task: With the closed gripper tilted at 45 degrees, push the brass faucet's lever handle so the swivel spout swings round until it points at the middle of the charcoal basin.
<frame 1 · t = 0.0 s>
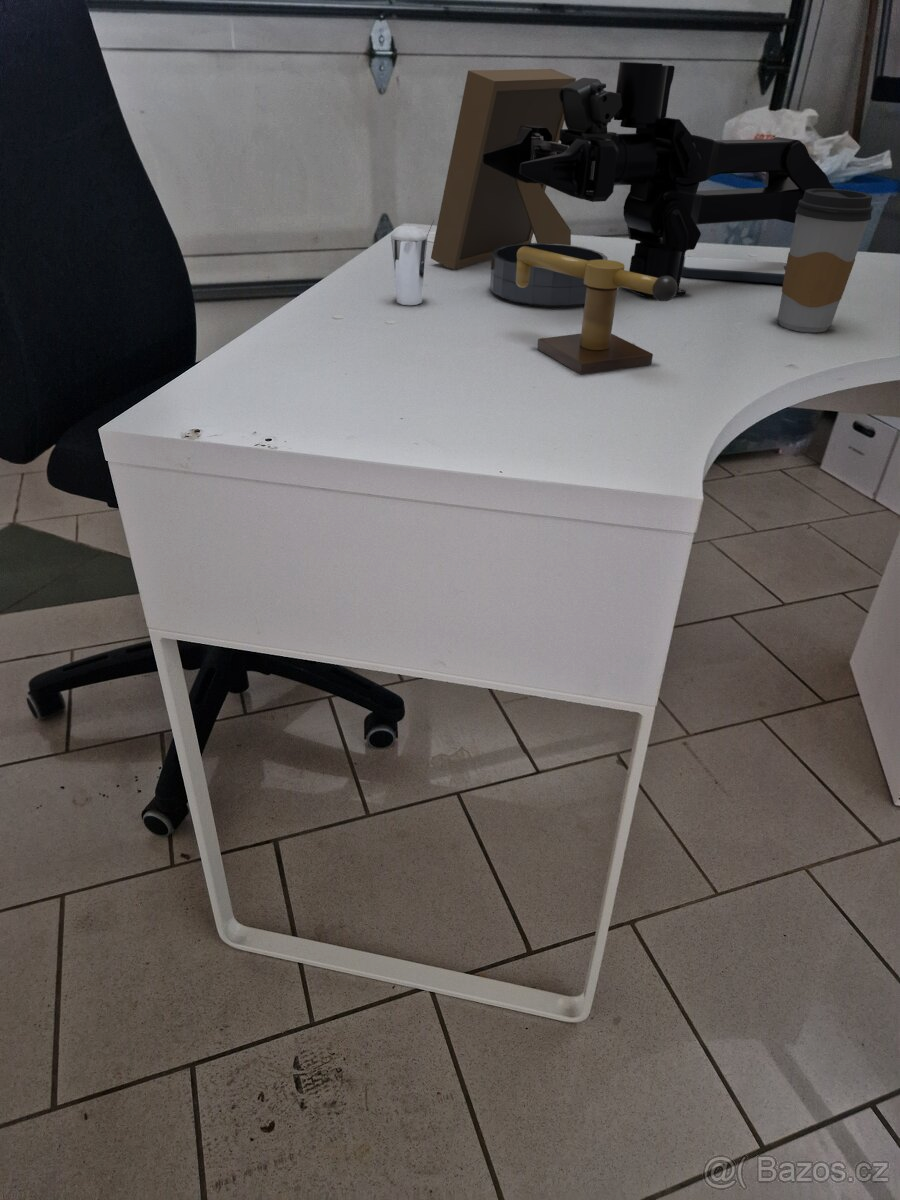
hand: (500, 163, 97), 17 cm above the table, tool horizontal, fingers open, 9 cm apart
coffee cup: (802, 327, 104), on the table
photo frame: (510, 262, 129), on the table
faucet base: (593, 356, 91), on the table
faucet: (591, 276, 87), point 8 cm above the table, hinge at 38.4°
basin: (546, 293, 113), on the table
milkshake: (412, 304, 107), on the table
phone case: (733, 276, 125), on the table
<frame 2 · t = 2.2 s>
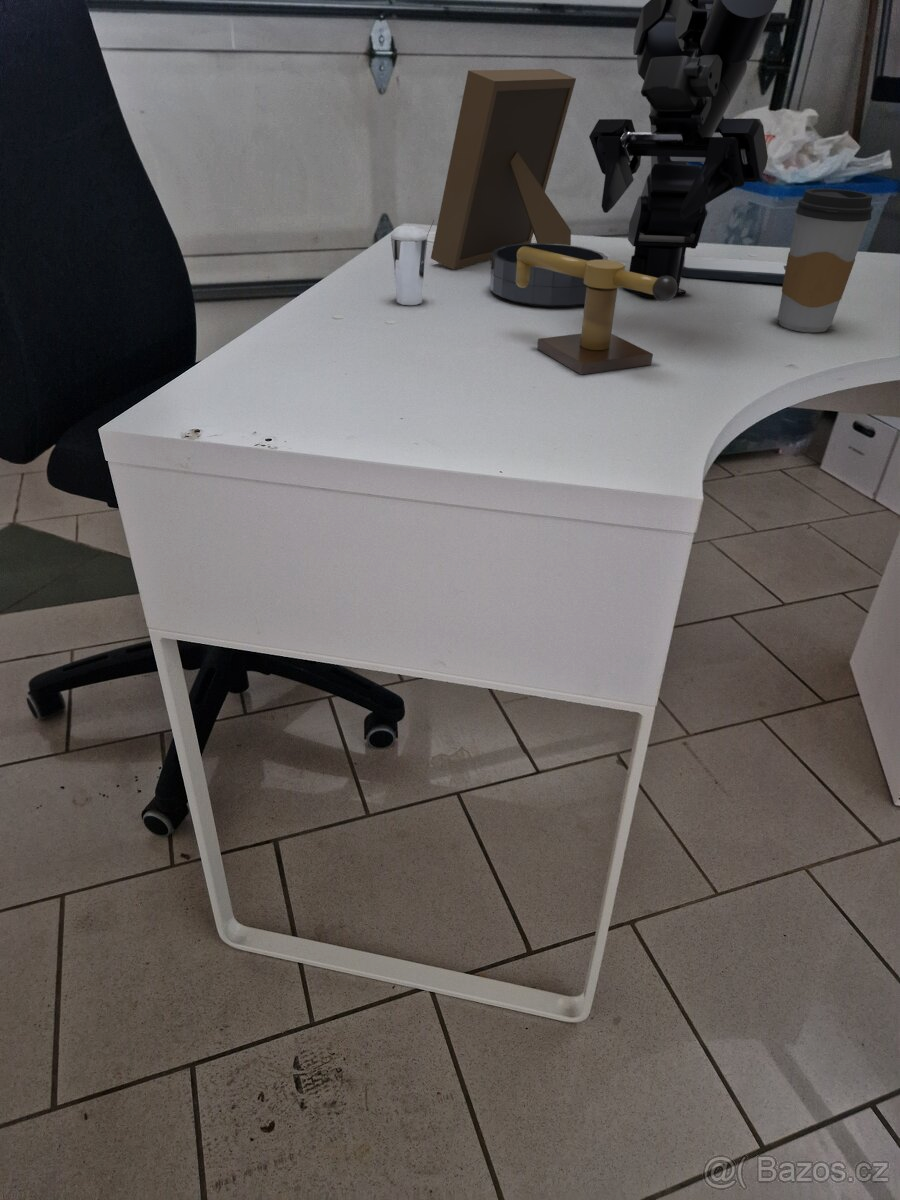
hand: (642, 212, 87), 14 cm above the table, tool tilted 50°, fingers open, 9 cm apart
nothing on the table moved.
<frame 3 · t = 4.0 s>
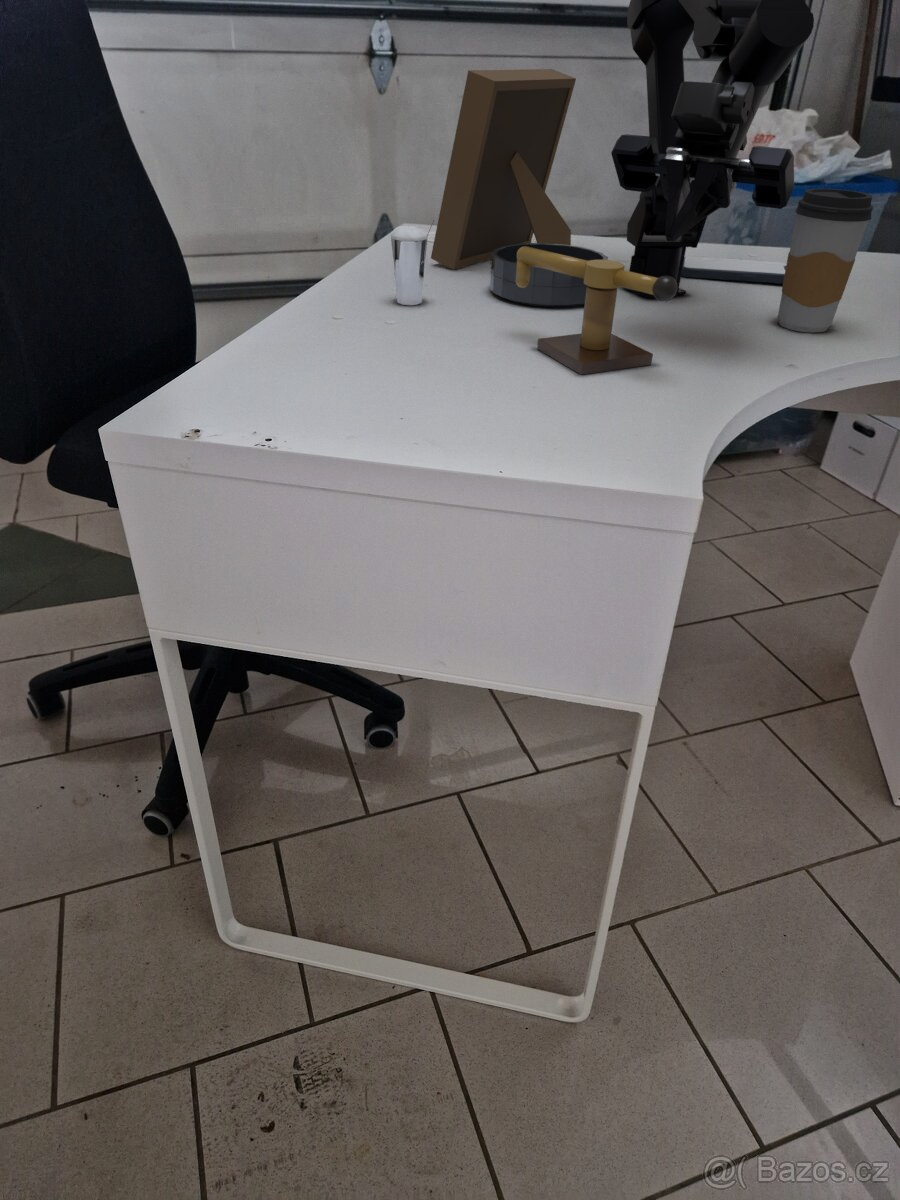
hand: (669, 238, 87), 12 cm above the table, tool tilted 45°, fingers closed
nothing on the table moved.
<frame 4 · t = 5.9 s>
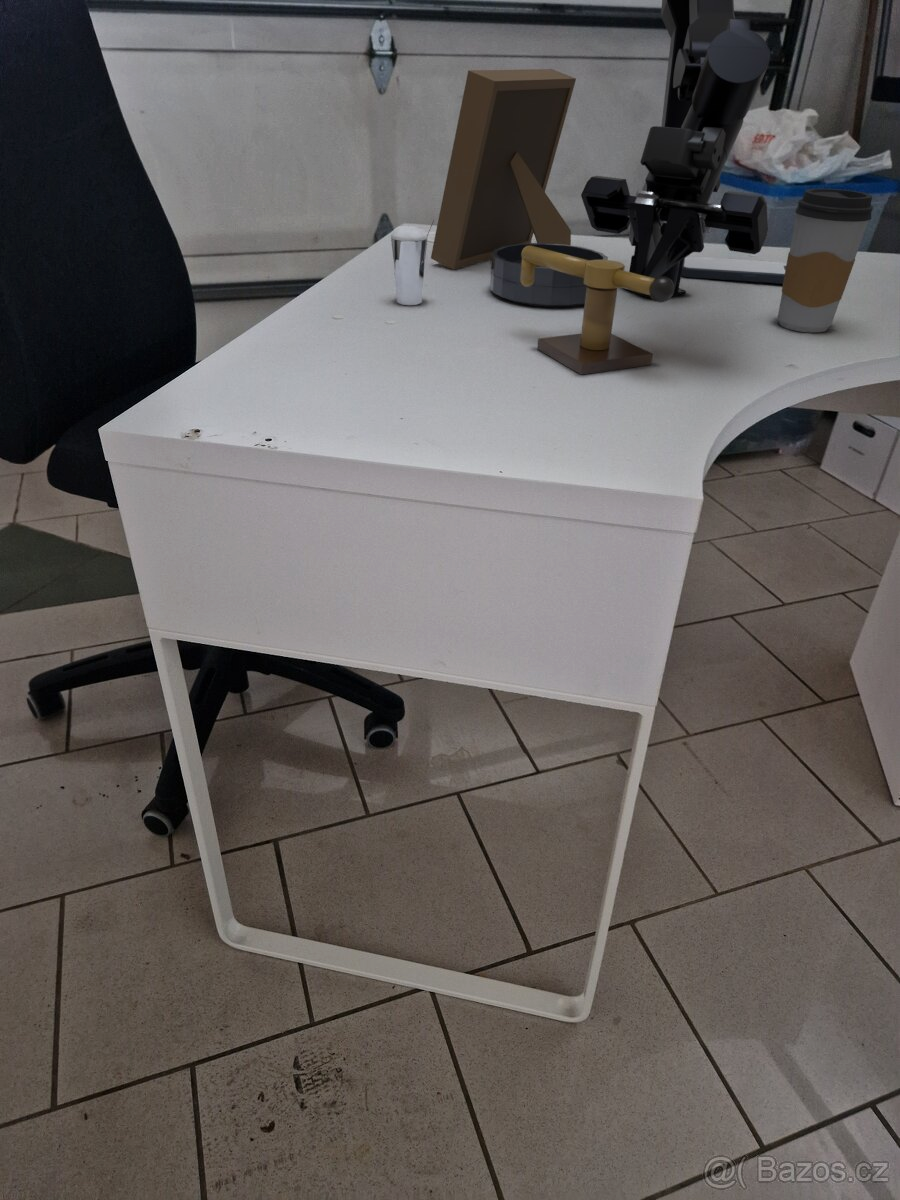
hand: (640, 285, 84), 8 cm above the table, tool tilted 45°, fingers closed
faucet: (591, 276, 87), point 8 cm above the table, hinge at 34.4°, touching gripper
everything else where it was.
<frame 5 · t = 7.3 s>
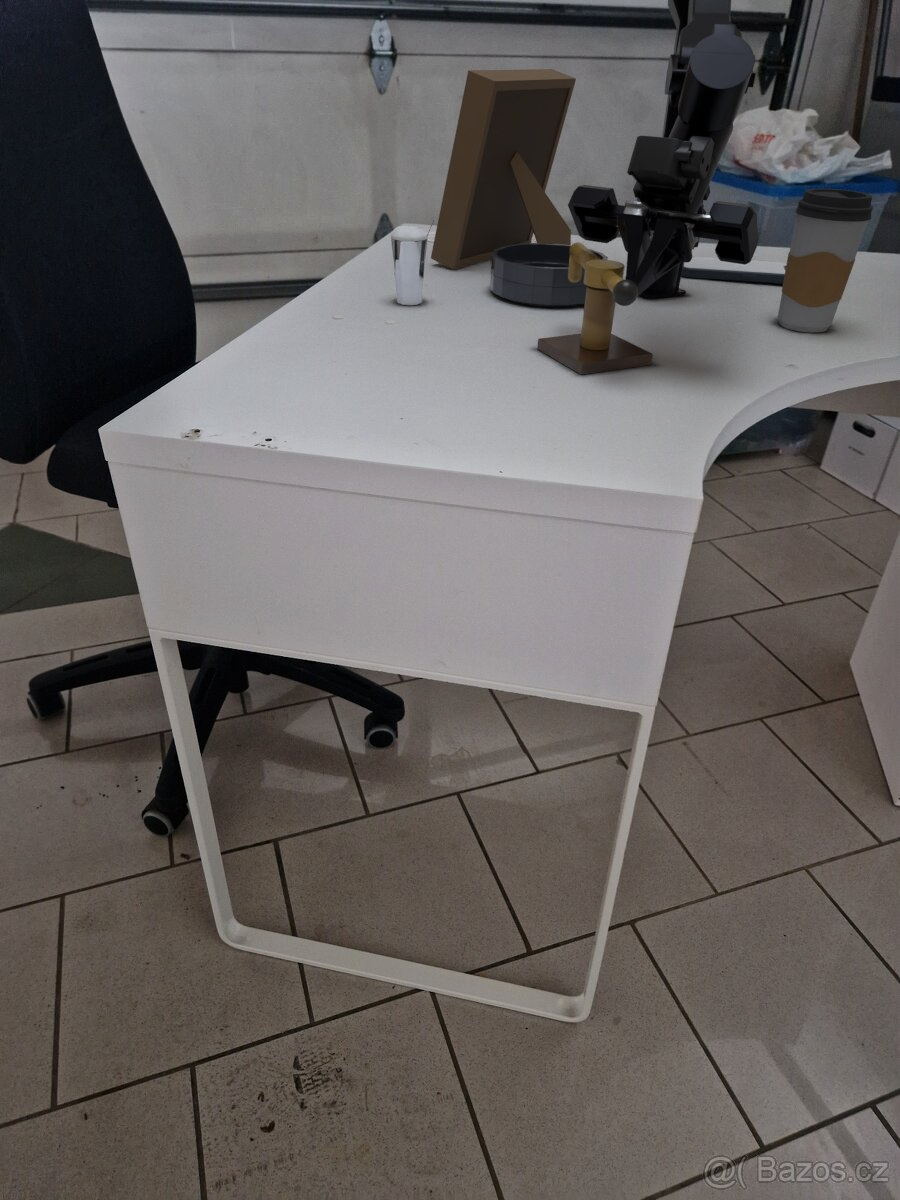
hand: (628, 297, 83), 8 cm above the table, tool tilted 45°, fingers closed
faucet: (599, 275, 88), point 8 cm above the table, hinge at 1.5°, touching gripper
everything else where it was.
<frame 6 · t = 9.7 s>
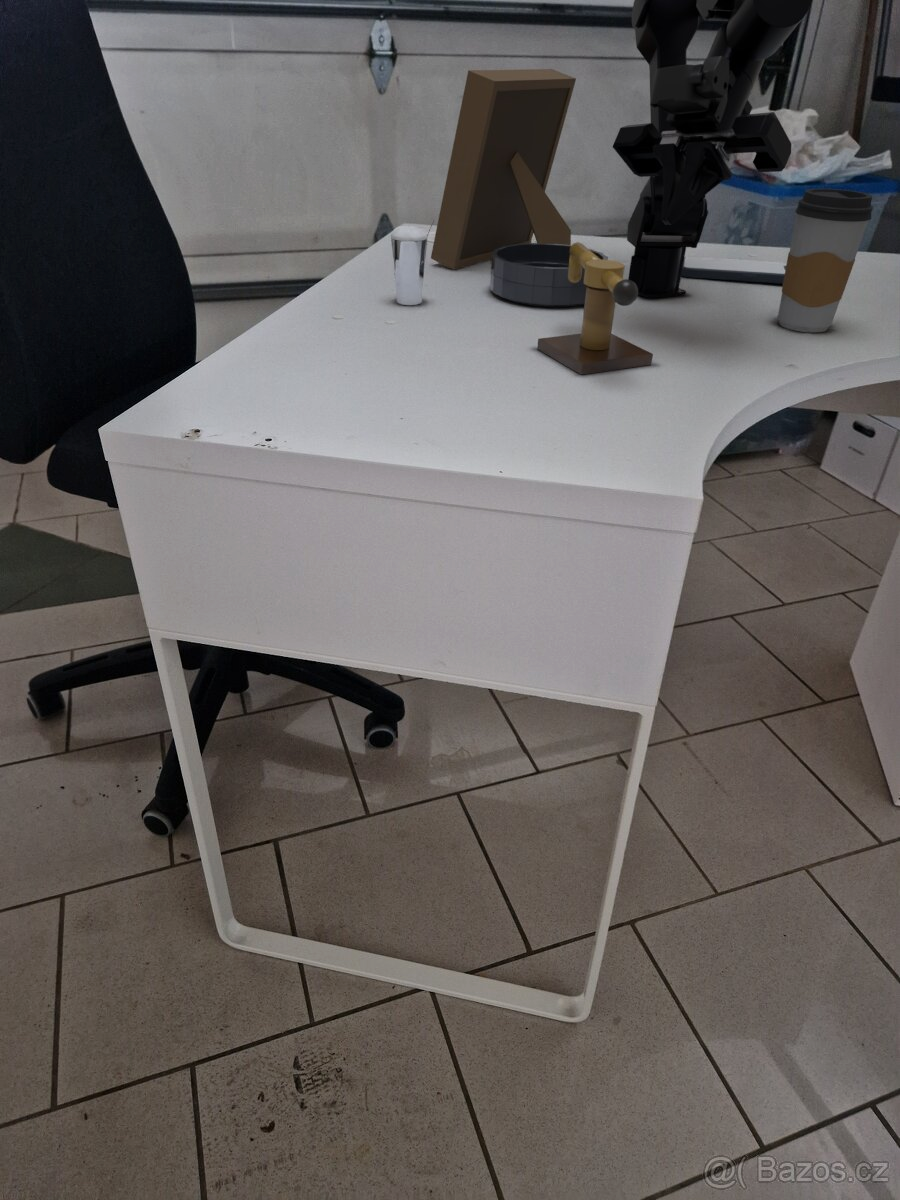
hand: (666, 222, 88), 13 cm above the table, tool tilted 35°, fingers closed
faucet: (599, 275, 88), point 8 cm above the table, hinge at 1.4°
everything else where it was.
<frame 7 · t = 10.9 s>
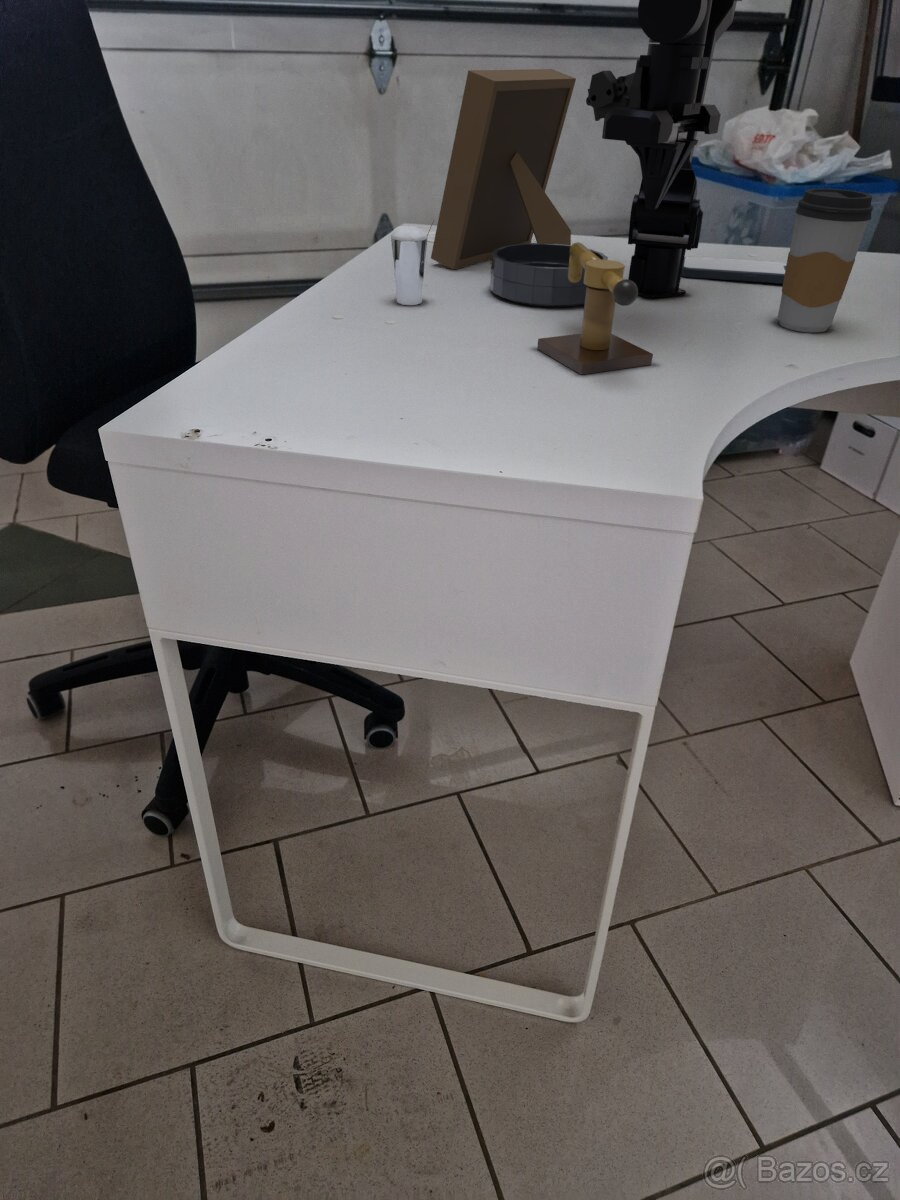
hand: (651, 208, 95), 13 cm above the table, tool pointing down, fingers closed
nothing on the table moved.
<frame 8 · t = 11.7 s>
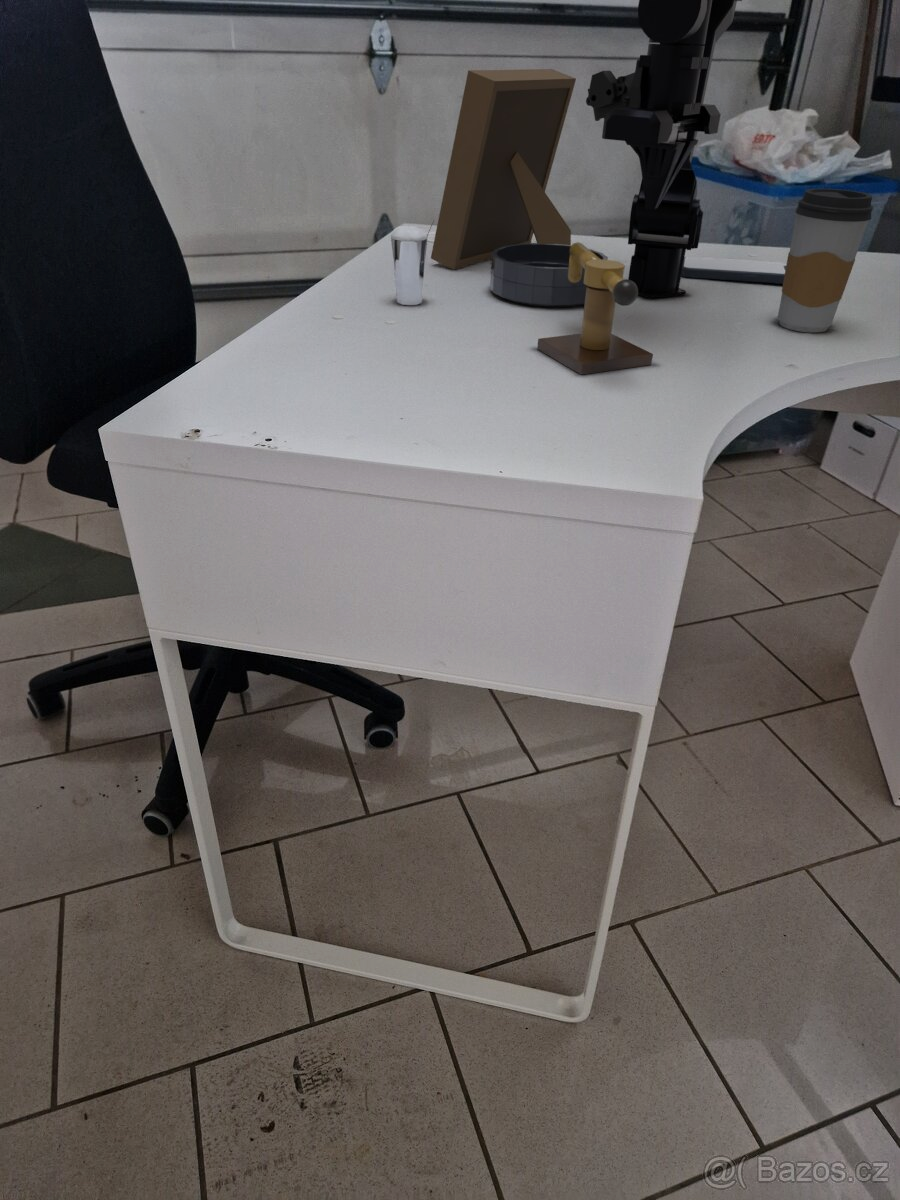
hand: (651, 208, 95), 13 cm above the table, tool pointing down, fingers closed
nothing on the table moved.
at the end: faucet at +1° (first picture: +38°); faucet 26.6 cm from the basin (horizontally) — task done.
